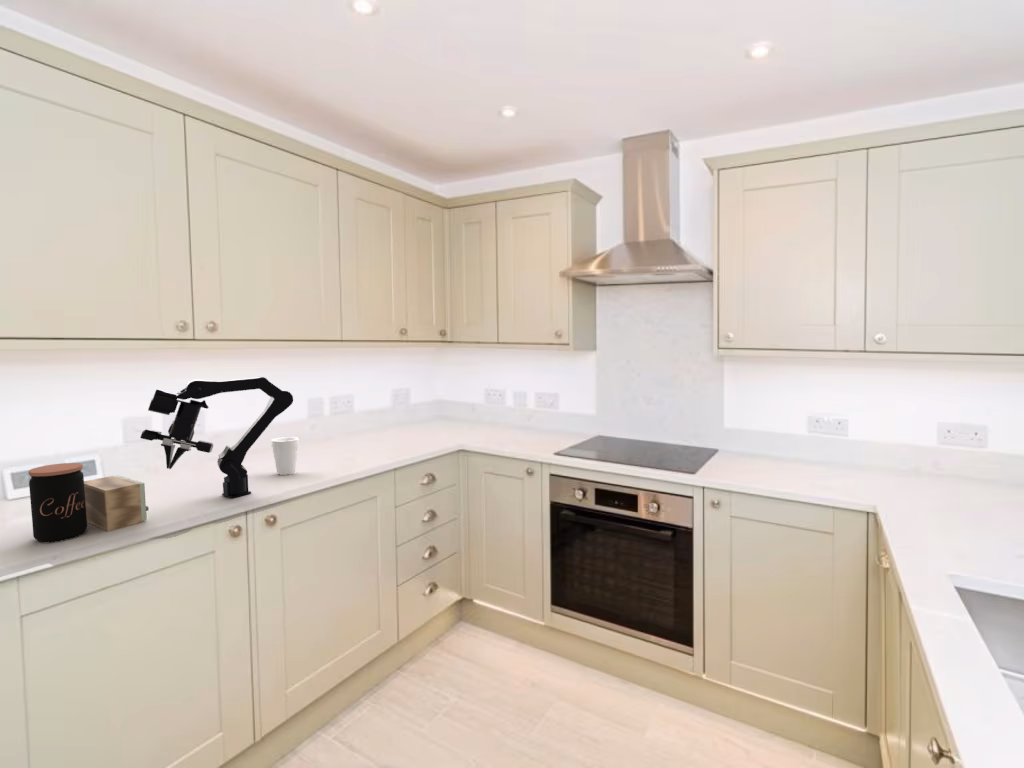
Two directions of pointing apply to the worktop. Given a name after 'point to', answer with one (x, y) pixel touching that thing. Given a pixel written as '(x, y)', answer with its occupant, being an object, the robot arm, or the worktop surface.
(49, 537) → the coffee jar
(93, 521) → the cabinet
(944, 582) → the worktop surface
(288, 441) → the foam cup
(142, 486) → the door
